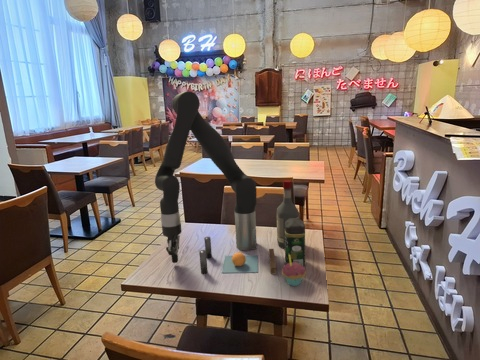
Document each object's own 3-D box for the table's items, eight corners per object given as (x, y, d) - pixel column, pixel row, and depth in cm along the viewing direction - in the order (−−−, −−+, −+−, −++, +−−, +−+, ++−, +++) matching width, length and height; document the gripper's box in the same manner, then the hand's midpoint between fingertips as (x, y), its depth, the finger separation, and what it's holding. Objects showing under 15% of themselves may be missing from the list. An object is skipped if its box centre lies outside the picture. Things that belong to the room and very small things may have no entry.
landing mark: (257, 255, 136) (257, 254, 136) (257, 272, 123) (257, 272, 123) (225, 256, 137) (225, 255, 137) (221, 273, 124) (221, 272, 124)
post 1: (208, 270, 126) (206, 249, 124) (207, 274, 123) (205, 253, 121) (201, 270, 126) (199, 250, 124) (200, 274, 123) (198, 253, 121)
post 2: (212, 255, 138) (210, 236, 136) (211, 258, 136) (210, 239, 133) (206, 255, 138) (204, 236, 136) (205, 258, 136) (203, 239, 134)
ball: (241, 247, 130) (230, 254, 131) (239, 253, 125) (228, 260, 126) (248, 258, 130) (238, 264, 132) (247, 264, 125) (236, 271, 126)
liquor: (295, 239, 150) (295, 178, 143) (300, 248, 141) (299, 183, 134) (276, 240, 150) (275, 179, 142) (279, 249, 141) (278, 184, 134)
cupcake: (291, 291, 110) (290, 259, 107) (277, 280, 117) (276, 250, 114) (310, 284, 114) (311, 253, 111) (296, 273, 121) (296, 244, 118)
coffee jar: (284, 258, 133) (283, 216, 128) (303, 258, 132) (303, 216, 128) (285, 270, 123) (285, 225, 119) (306, 270, 123) (306, 225, 118)
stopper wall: (273, 253, 137) (273, 248, 136) (276, 273, 121) (276, 267, 121) (269, 254, 137) (268, 248, 136) (270, 273, 122) (270, 267, 121)
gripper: (176, 228, 120) (180, 270, 125) (183, 216, 133) (187, 254, 137) (156, 229, 121) (161, 270, 125) (166, 217, 134) (170, 254, 138)
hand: (175, 261), depth 131 cm, fingers closed
